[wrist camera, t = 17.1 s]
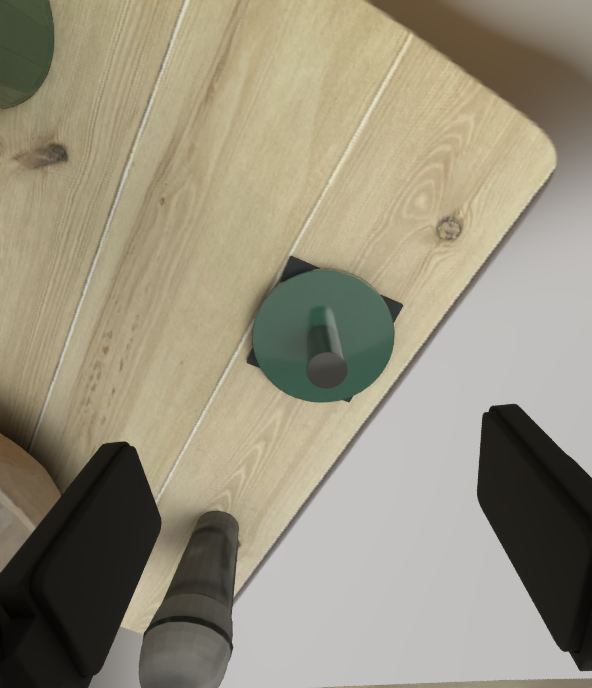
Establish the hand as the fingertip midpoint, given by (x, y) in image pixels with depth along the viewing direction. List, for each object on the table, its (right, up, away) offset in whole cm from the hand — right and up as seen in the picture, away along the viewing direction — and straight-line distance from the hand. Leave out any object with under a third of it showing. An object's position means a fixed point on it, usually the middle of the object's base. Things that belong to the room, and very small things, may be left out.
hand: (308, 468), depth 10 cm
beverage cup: (-9, -17, +31) cm, 36 cm away
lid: (+2, +4, +21) cm, 21 cm away
